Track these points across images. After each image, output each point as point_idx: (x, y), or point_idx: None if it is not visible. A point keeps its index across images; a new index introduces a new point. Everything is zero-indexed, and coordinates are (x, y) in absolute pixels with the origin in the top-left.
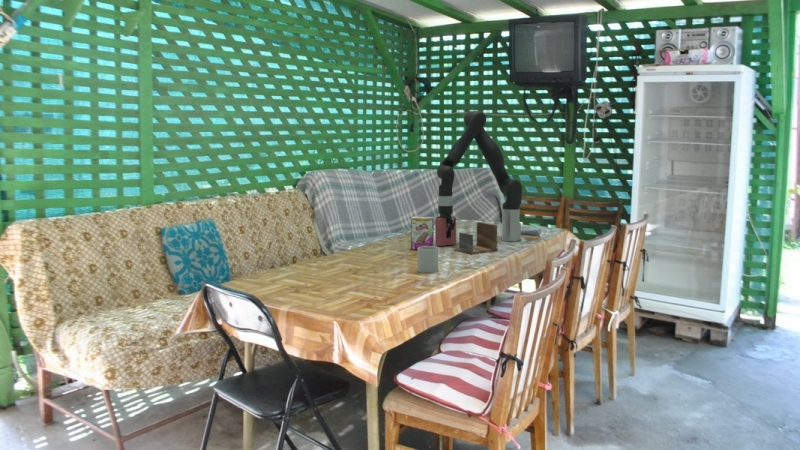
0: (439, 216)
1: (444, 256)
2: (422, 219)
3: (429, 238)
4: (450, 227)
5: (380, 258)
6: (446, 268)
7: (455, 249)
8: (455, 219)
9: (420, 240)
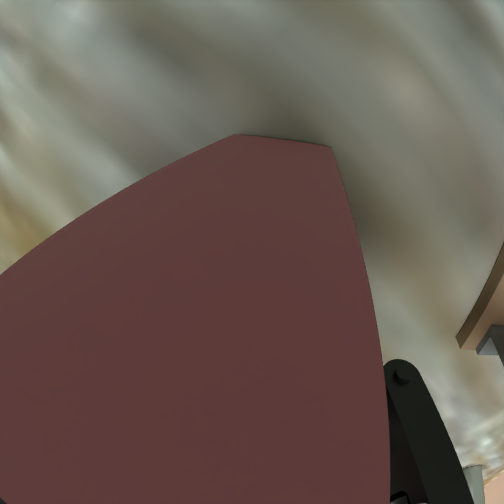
0: None
1: (454, 420)
2: None
3: None
4: (394, 440)
5: None
6: (493, 453)
7: (468, 345)
8: (368, 490)
9: None
